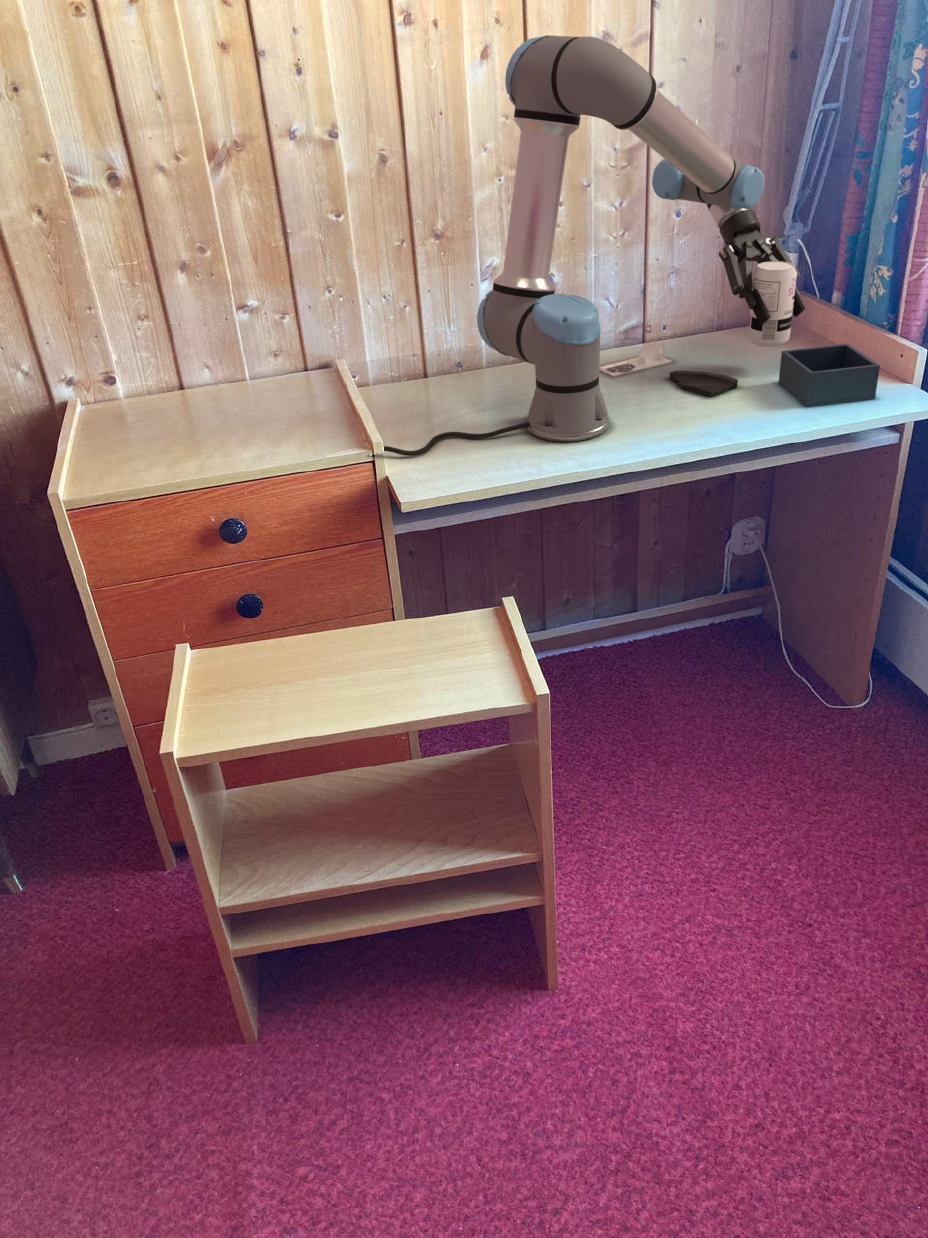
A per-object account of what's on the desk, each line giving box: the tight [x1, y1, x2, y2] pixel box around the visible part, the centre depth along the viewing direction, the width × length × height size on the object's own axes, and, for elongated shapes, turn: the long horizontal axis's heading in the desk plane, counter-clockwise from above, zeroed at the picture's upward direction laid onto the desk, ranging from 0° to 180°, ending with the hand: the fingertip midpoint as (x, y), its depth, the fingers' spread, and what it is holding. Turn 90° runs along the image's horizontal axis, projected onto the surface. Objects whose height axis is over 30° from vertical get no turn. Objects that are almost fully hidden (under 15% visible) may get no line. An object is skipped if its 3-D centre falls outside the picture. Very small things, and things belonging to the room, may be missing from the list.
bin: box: [778, 343, 881, 408], centre depth 202 cm, size 14×14×7 cm
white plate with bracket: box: [599, 341, 673, 378], centre depth 222 cm, size 15×7×4 cm, turn 117°
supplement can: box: [747, 261, 798, 347], centre depth 208 cm, size 8×8×15 cm
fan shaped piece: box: [668, 370, 739, 398], centre depth 210 cm, size 8×14×2 cm, turn 36°
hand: (782, 316), depth 207 cm, fingers closed on supplement can, 8 cm apart
